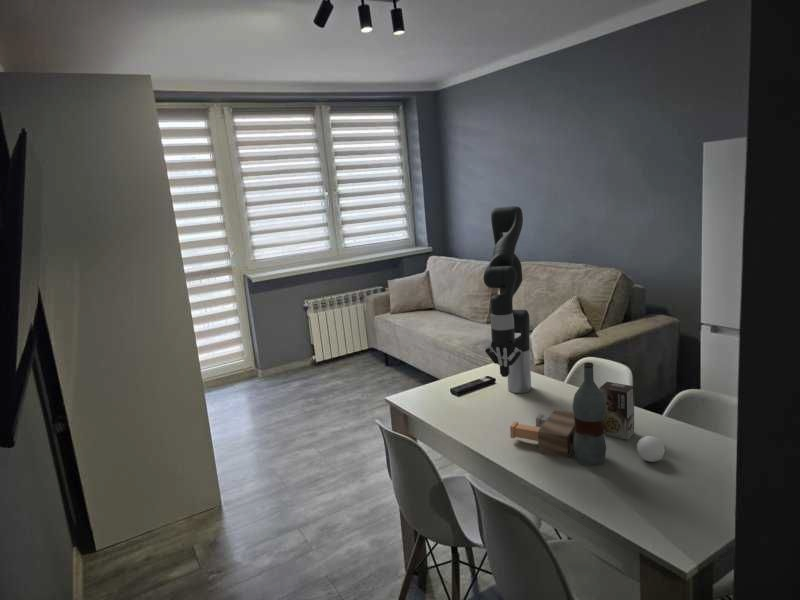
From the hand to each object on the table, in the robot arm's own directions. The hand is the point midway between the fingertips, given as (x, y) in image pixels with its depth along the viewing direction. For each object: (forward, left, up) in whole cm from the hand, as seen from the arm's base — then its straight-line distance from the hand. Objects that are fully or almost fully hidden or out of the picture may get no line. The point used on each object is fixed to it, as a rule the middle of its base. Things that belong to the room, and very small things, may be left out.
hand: (504, 376), depth 179 cm
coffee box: (-11, +33, -20) cm, 40 cm away
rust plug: (+7, +11, -18) cm, 22 cm away
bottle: (+9, +29, -20) cm, 37 cm away
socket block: (+2, +19, -20) cm, 27 cm away
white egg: (+2, +44, -20) cm, 49 cm away
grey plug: (-2, +17, -18) cm, 24 cm away
